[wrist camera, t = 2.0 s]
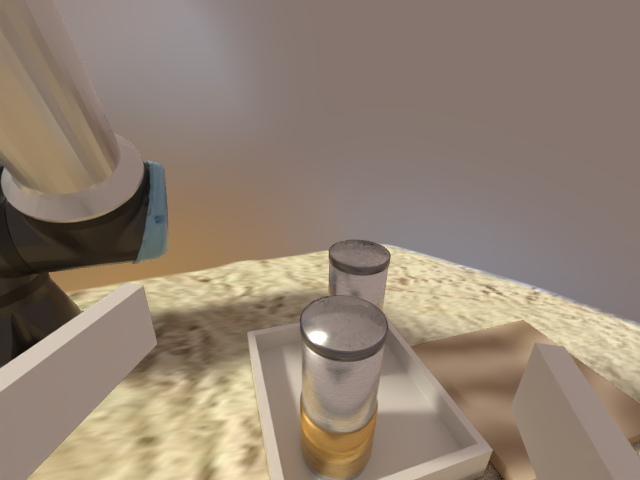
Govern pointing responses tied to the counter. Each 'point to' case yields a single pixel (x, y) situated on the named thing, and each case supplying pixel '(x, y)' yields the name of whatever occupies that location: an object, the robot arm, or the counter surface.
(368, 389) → the lidded honey jar
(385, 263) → the clear grey lidded jar
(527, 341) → the board
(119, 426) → the counter surface
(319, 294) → the counter surface
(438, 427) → the white shaker tray
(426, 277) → the counter surface
